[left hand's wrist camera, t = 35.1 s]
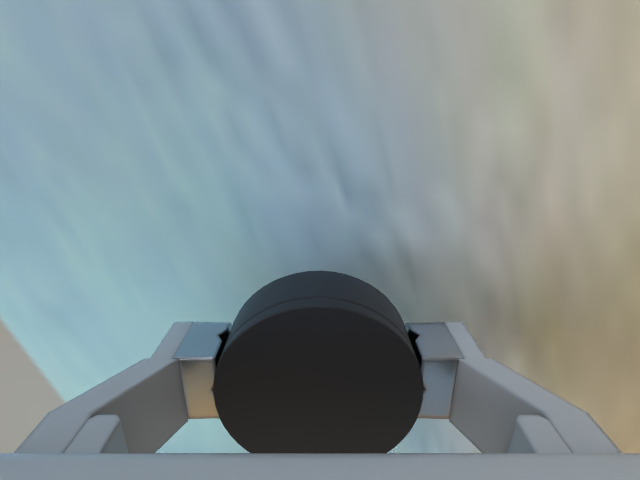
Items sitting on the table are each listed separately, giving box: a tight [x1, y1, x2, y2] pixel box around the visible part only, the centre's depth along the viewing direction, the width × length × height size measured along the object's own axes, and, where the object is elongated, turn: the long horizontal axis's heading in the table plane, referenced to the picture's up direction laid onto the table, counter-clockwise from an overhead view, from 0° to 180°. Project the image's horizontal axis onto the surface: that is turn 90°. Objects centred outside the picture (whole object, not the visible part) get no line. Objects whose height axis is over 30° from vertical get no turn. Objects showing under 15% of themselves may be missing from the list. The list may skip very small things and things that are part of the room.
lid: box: [213, 271, 424, 453], centre depth 9 cm, size 5×5×2 cm
